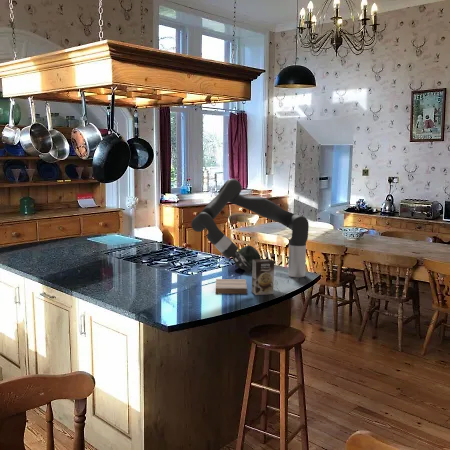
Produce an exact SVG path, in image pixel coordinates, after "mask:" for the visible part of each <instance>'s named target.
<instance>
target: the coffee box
mask: <svg viewBox="0 0 450 450" xmlns="http://www.w3.org/2000/svg"><path fill="white" fill-rule="evenodd" d="M274 276H275V261H274V260H273V259H271V258H261V259H253V264H252V272H251V293H253V295H255V296H260V295H264V296H265V295H273V294H274V285H275V284H274V282H275V279H274V278H275V277H274Z"/></svg>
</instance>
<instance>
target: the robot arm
mask: <svg viewBox="0 0 450 450" xmlns="http://www.w3.org/2000/svg"><path fill="white" fill-rule="evenodd" d="M242 189H243V187H242V183H241V182H240V181H239V180H238V179H236V178H230V179H228V180H226V181H225V183H224V184H222V186H221V187H220V189H219V190H218V194H217V195H216V196H214V198H212V200H211V201H209V203H207V204H206V206H204V208H203V209H202V211H201V212H200V213H198V214H197V215H196V216H195V217H194V218H193V219H192V220H191V225H190V226H191V228H192V230H193V231H194V232H198V233H200V232H203V231H204V230H206V231H207V233H206V239H207V240H208V241H209V242H211V244H212V245H213V246H214V247H215V249H217V250H218V251H219V252H220V254H222V255H223V256H224V257H225V258H226V259H227V260H228V259H230V258H232V261H233V262H234V264H235V263H236V264H237V265H238V266H239V267H240V268H241V270H244V272H246V274H248V275H250V274H252V270H251V269H250V268H251V266H250V265H249V264H248V263H247V262H246V260H245V258H244V257H243V256H242V255H241V254H240V253H239V252H238V251H239V247H238V245H236V244H235V243H234V241H232V239H231V238H229V237H228V236H227V235H225V234H224V233H223V231H222V230H220V228H219V227H218V225H217V223H216V222H215V218H217V216H218V215H219V214H220V213H221V212H222V211H223V209H224V208H225V206H227V204H228V203H230V204H231V205H236V206H237V207H241V208H244V209H246V210H248V211H251V212H252V213H255V214H256V215H259V216H261V217H263V218H266V219H267V220H271V221H275V222H277V223H279V224H281V225H283V226H284V227H286V228H288V229H289V230H290V231H291V237H290V238H289V239H288V261H287V262H288V265H287V266H288V268H287V276H288V277H291V278H304V277H306V264H307V263H306V259H307V254H306V253H307V242H308V239H309V226H310V225H309V220H308V219H307V218H306V217H305V216H303V215H300V214H296V213H294V212H293V213H292V212H291V211H288V210H285V209H284V208H282V207H281V206H279V205H278V204H276V203H275V202H274V201H272V200H269V199H267V198H265V197H262V196H245V195H242V194H241V193H242ZM242 264H243V265H242ZM241 265H242V266H241ZM240 268H239V269H240Z"/></svg>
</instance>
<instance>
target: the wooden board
mask: <svg viewBox="0 0 450 450" xmlns="http://www.w3.org/2000/svg"><path fill="white" fill-rule="evenodd" d="M215 294H238V295H239V294H248V286H247V279H245V278H242V279H239V278H238V279H237V278H235V279H233V278H228V279H227V278H215Z"/></svg>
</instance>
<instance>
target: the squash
mask: <svg viewBox="0 0 450 450" xmlns="http://www.w3.org/2000/svg"><path fill="white" fill-rule="evenodd" d="M237 251H238V252H239V253H240V254H241V255H242V256H243V257H244V258H245V260H246V262H247V263H248V264H249V265H250V266H251V268H250V269H251V270H252V264H253V259H262V258H261V255H260V252H259V251H258V250H257V249H256V248H255V247H254V246H252V245H246V246H244V247H241V248H240V249H238V250H237ZM234 264H235V266H236V267H237V268H238V269H241V268H240V267H239V266H238V265H237V264H236V263H235V262H234ZM242 265H243V264H242ZM242 265H241V266H242ZM241 270H242V269H241Z"/></svg>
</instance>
